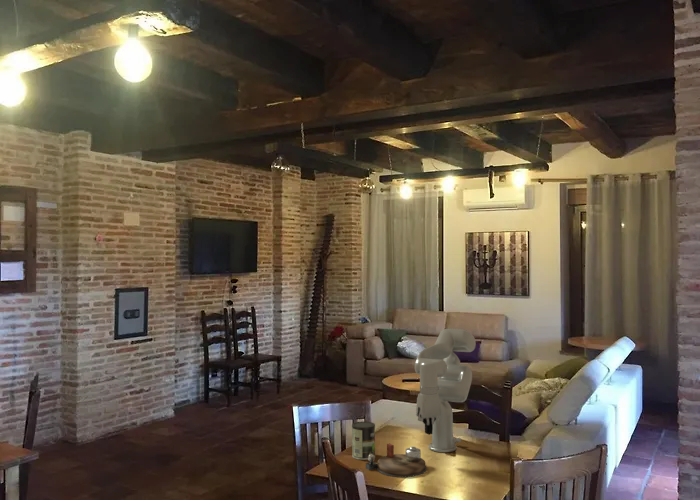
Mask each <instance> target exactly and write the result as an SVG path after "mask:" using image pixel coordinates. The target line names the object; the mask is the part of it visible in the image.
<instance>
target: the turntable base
mask: <svg viewBox="0 0 700 500" xmlns="http://www.w3.org/2000/svg"><path fill="white" fill-rule="evenodd" d="M427 469H428V466H427V465H426V464H425V470H424V471H423V472H421V473H418V474H415V475H406V476H400V475H391V474H387V473H384V472H382V471H380V470H379V469H378V463H377V469H376V471H377V472H378V473H380V474H382V475H384V476H388V477H392V478H393V477H394V478H412V477H413V478H414V477H418V476H421V475H423V474H424V473H426V472H427Z"/></svg>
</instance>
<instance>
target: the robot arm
mask: <svg viewBox="0 0 700 500" xmlns="http://www.w3.org/2000/svg"><path fill="white" fill-rule="evenodd" d="M476 343H477V342H476V338H475V336H474V335H473V334H472V333H471V332H470V331H468V330H466V329H465V328H464V329H463V328H445V329H442V330H441V331H440V332H439V334H438V336H437V338H436V341H435V342H434V344H432V345H430V346H428V347H425V348H424V349H422V350H421V351H420V352H419V353H418V355H417V357H416V360H415V362H414V371H415V373H416V375H419V393H418V394H417V398H416V406H415V407H416V408H415V415H416V417H417V421H419V422H422V423H423V425H424V433H425V434H427V435H431V443H429V444H428V449H429V450H431V451H433V452H437V453H452V452H454V451H456V450H457V445H456V444H457V443H461V442H462V438H461V437H454V433H453V432H454V426H453V425H454V419H453V413H454V412H453V408H452V406H451V404H450V403H449V402H454V403H464V402H465V401H467V398H468V395H469V392H470V389H471V386H472V381H473V372H472V369H471V367H469V366H468V365H462V364H461V359H460V358H459V357H458V355H457V354H456V353H455V352H458V353H459V352H462V353H463V352H464V353H471V352H473V351H475V349H476Z"/></svg>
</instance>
